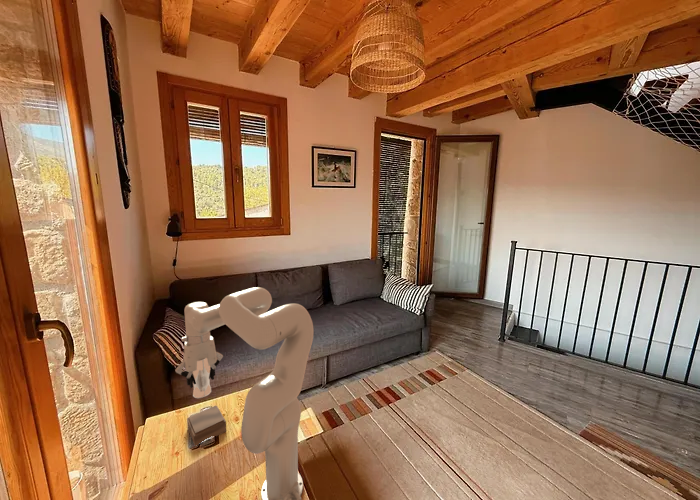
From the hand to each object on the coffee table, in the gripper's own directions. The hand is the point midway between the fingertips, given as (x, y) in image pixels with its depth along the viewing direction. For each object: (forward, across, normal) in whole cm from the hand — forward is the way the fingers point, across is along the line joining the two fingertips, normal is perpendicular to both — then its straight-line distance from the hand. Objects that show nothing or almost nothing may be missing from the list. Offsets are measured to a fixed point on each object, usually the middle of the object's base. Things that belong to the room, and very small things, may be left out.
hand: (201, 381), depth 105 cm
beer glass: (+5, 0, 0) cm, 5 cm away
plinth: (+22, +1, +1) cm, 22 cm away
